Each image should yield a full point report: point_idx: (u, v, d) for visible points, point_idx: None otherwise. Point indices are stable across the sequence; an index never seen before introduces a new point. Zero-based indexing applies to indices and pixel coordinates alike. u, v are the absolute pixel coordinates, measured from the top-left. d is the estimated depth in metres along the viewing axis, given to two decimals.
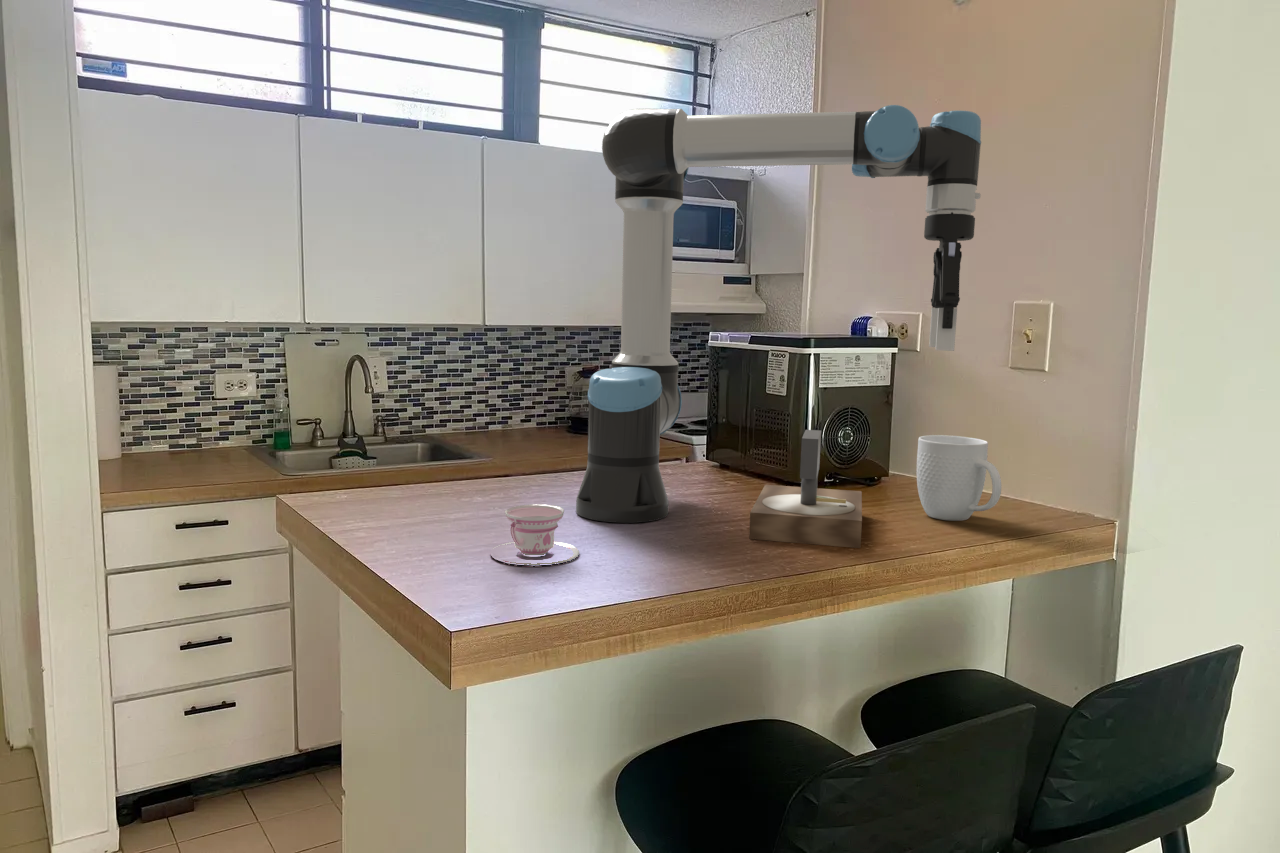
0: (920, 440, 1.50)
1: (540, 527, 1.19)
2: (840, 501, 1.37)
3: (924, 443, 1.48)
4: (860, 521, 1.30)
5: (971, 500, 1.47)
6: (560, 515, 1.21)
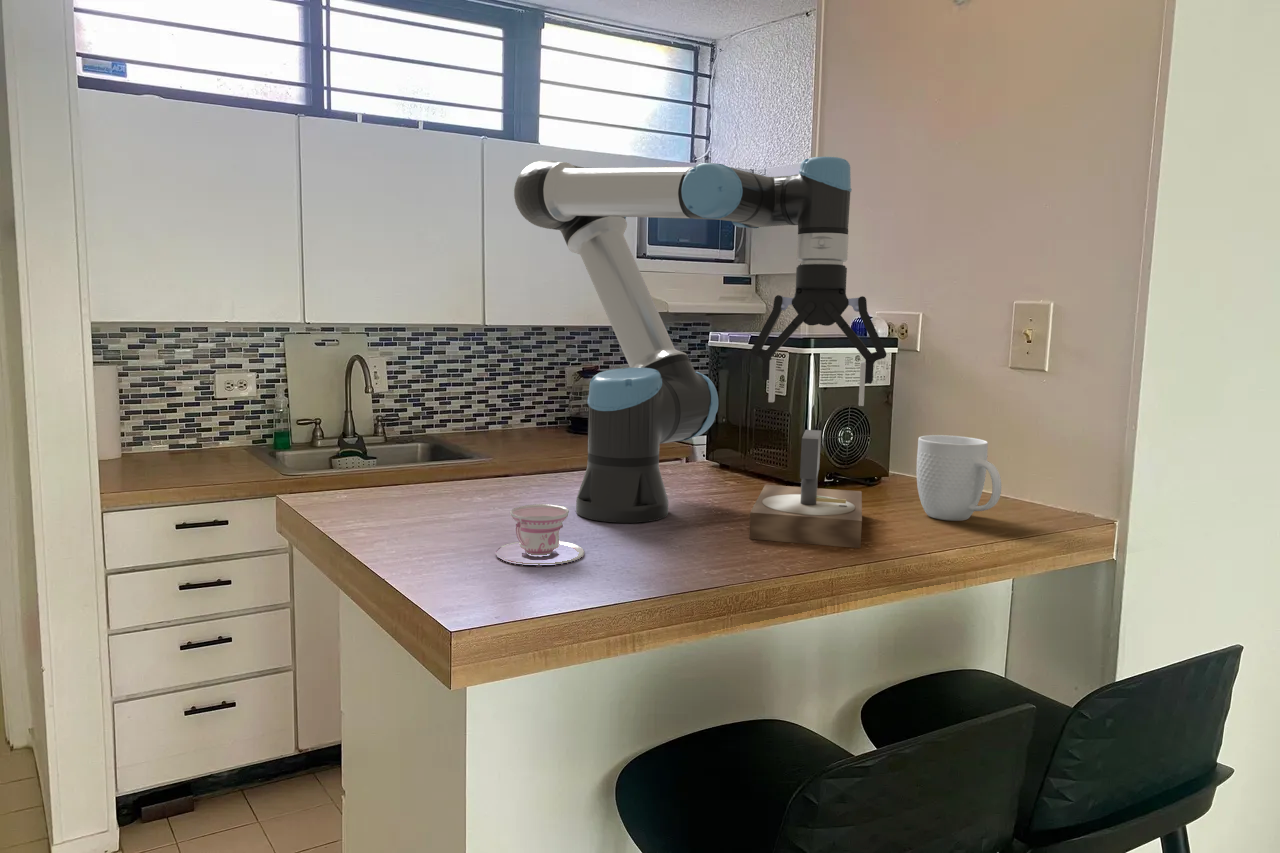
0: (920, 440, 1.50)
1: (545, 527, 1.19)
2: (840, 501, 1.37)
3: (924, 443, 1.48)
4: (860, 521, 1.30)
5: (971, 500, 1.47)
6: (565, 515, 1.21)
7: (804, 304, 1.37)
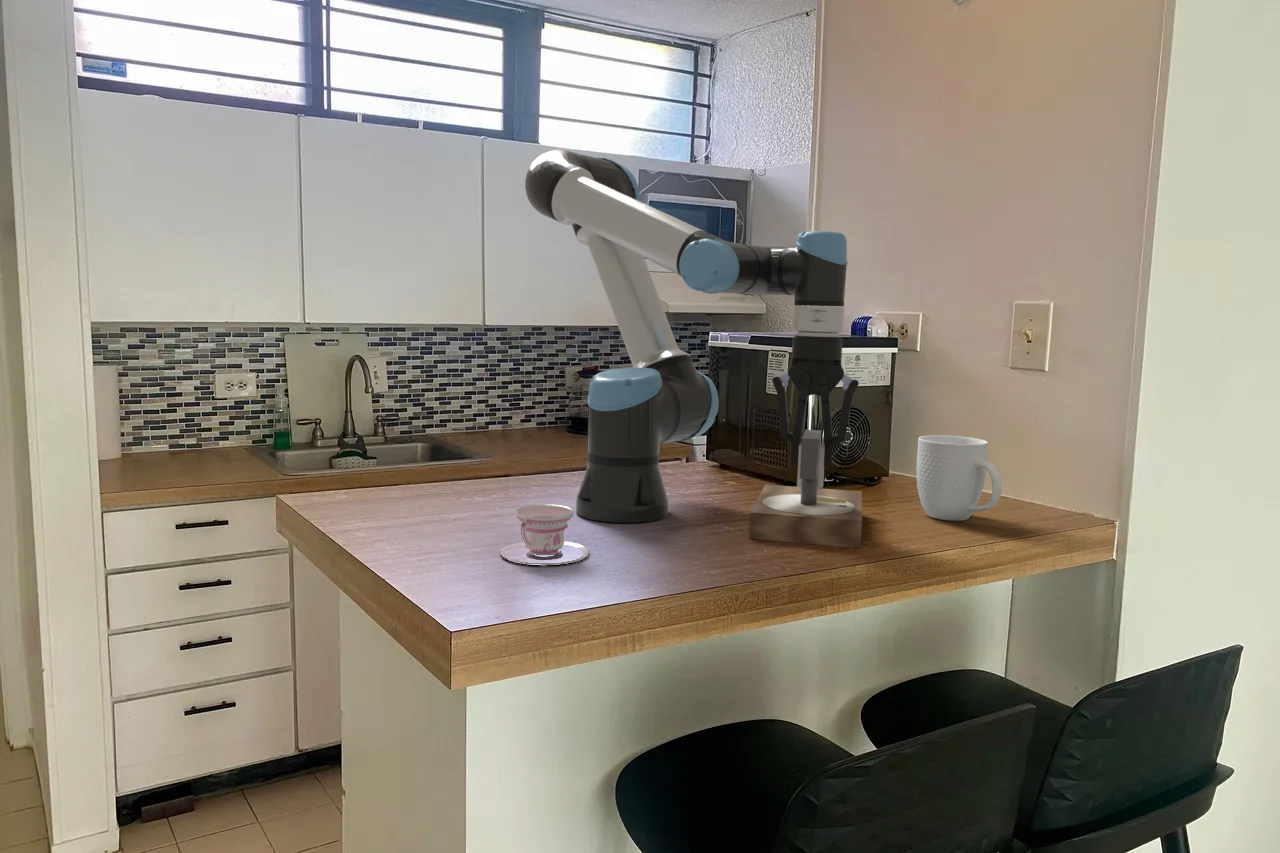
0: (920, 440, 1.50)
1: (550, 527, 1.19)
2: (840, 501, 1.37)
3: (924, 443, 1.48)
4: (860, 521, 1.30)
5: (971, 500, 1.47)
6: (570, 515, 1.21)
7: (801, 371, 1.39)
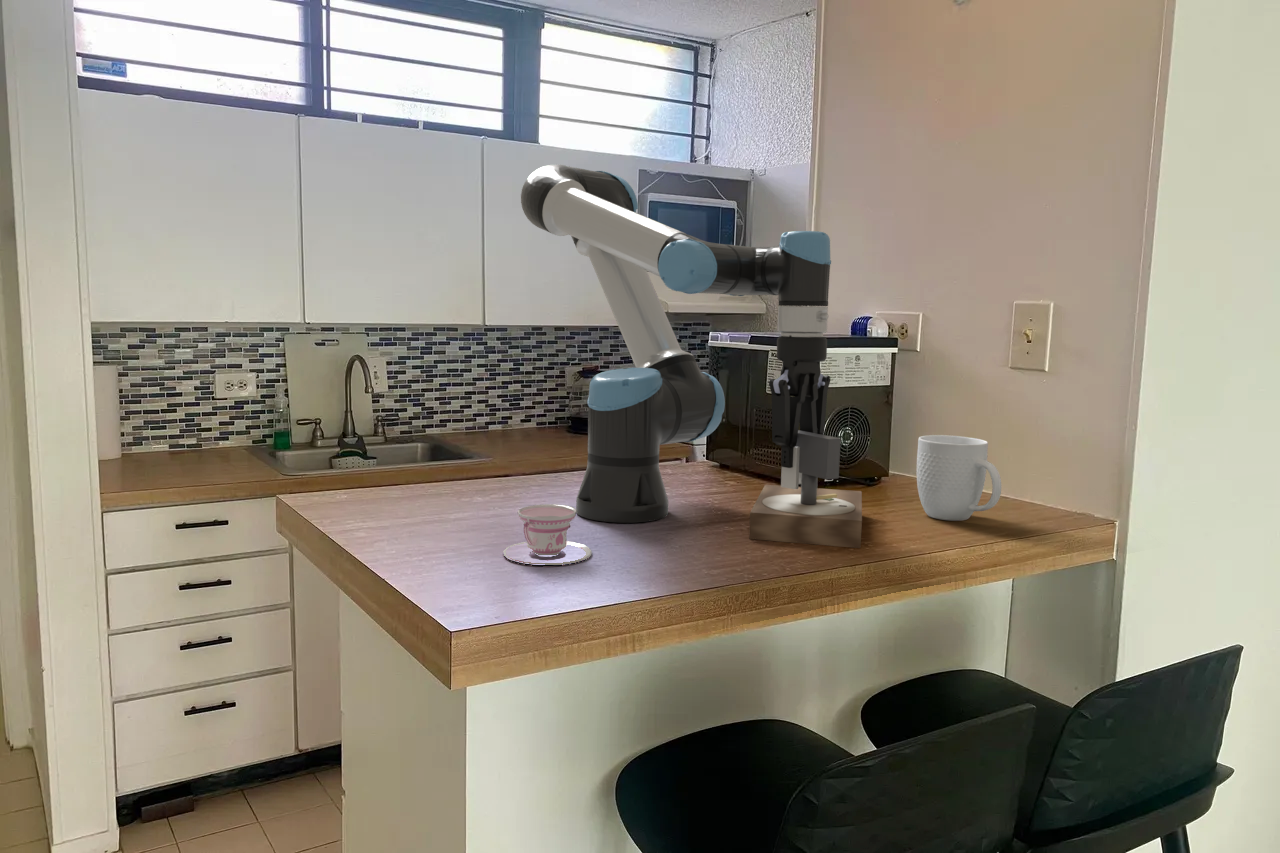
0: (920, 440, 1.50)
1: (553, 527, 1.20)
2: (833, 496, 1.41)
3: (924, 443, 1.48)
4: (860, 521, 1.30)
5: (971, 500, 1.47)
6: (573, 515, 1.21)
7: (798, 373, 1.36)
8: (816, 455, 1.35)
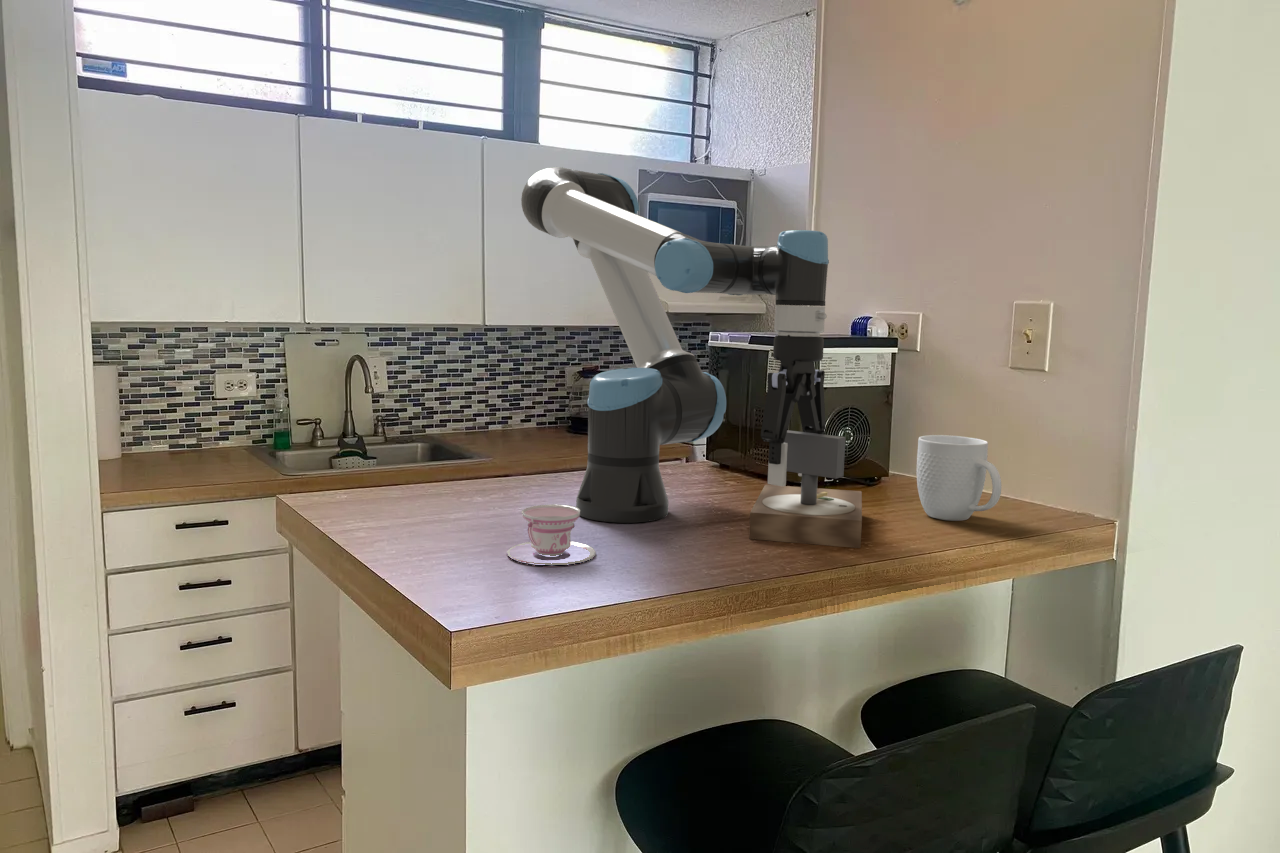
0: (920, 440, 1.50)
1: (557, 527, 1.19)
2: (825, 494, 1.42)
3: (924, 443, 1.48)
4: (860, 521, 1.30)
5: (971, 500, 1.47)
6: (577, 515, 1.21)
7: (796, 374, 1.36)
8: (823, 455, 1.35)
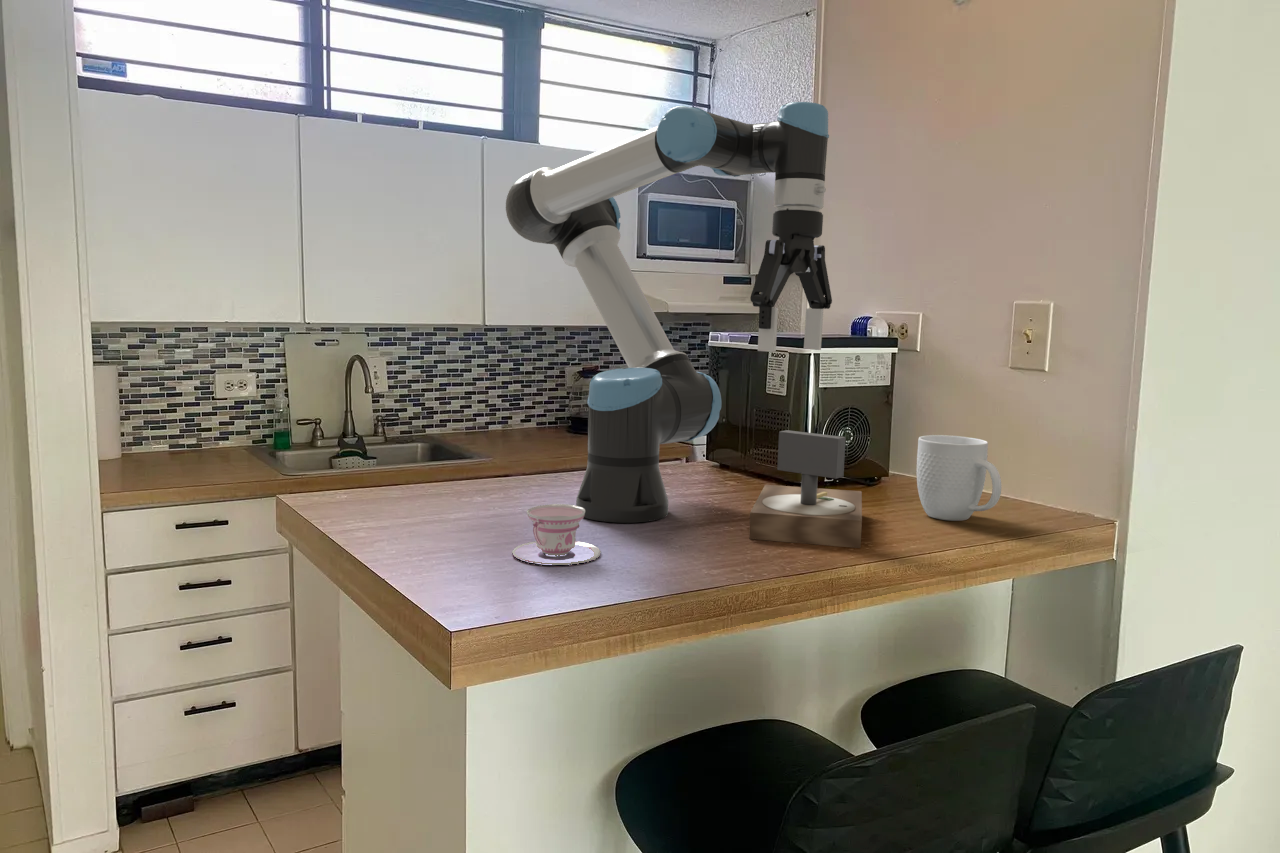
0: (920, 440, 1.50)
1: (562, 527, 1.20)
2: (824, 494, 1.42)
3: (924, 443, 1.48)
4: (860, 521, 1.30)
5: (971, 500, 1.47)
6: (582, 515, 1.21)
7: (794, 250, 1.36)
8: (823, 455, 1.35)
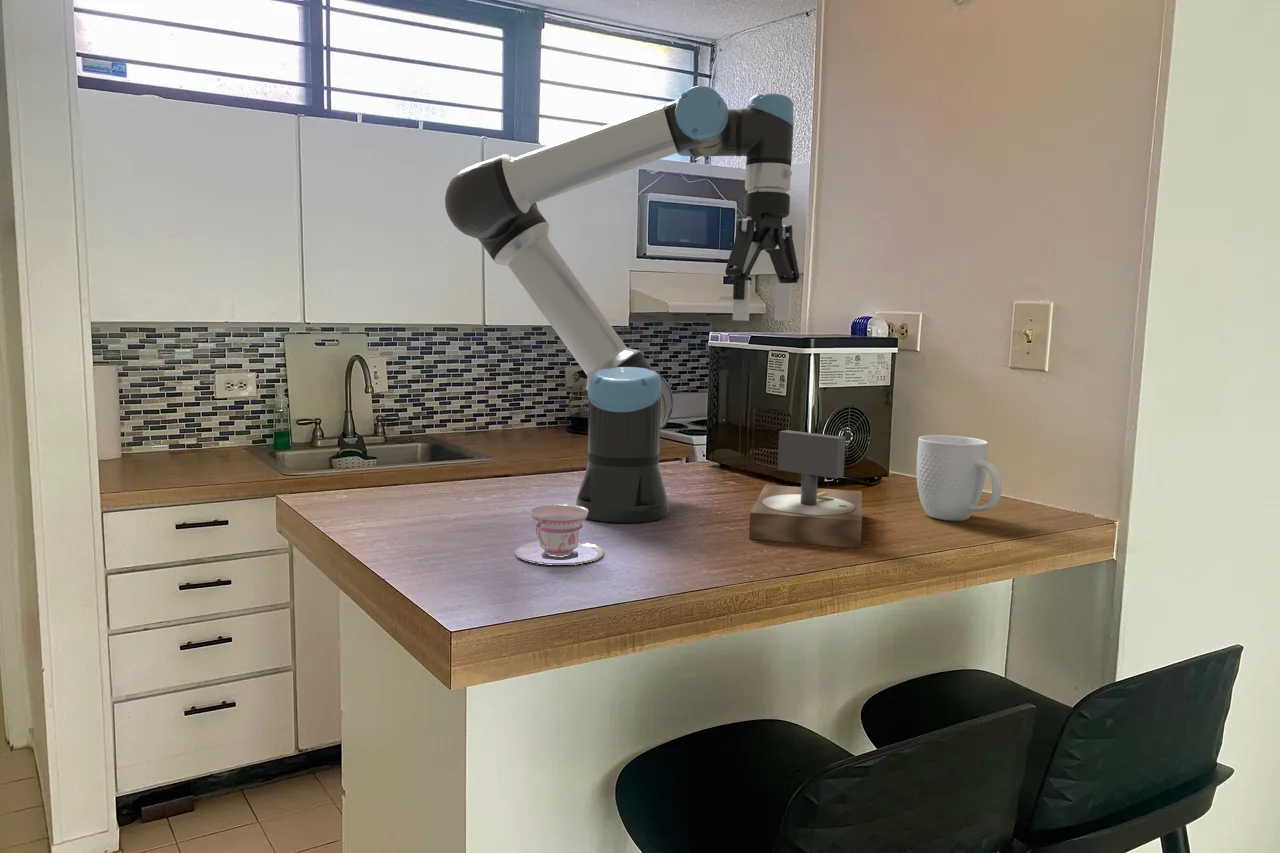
0: (920, 440, 1.50)
1: (565, 527, 1.20)
2: (824, 494, 1.42)
3: (924, 443, 1.48)
4: (860, 521, 1.30)
5: (971, 500, 1.47)
6: (585, 515, 1.21)
7: (764, 228, 1.50)
8: (823, 455, 1.35)
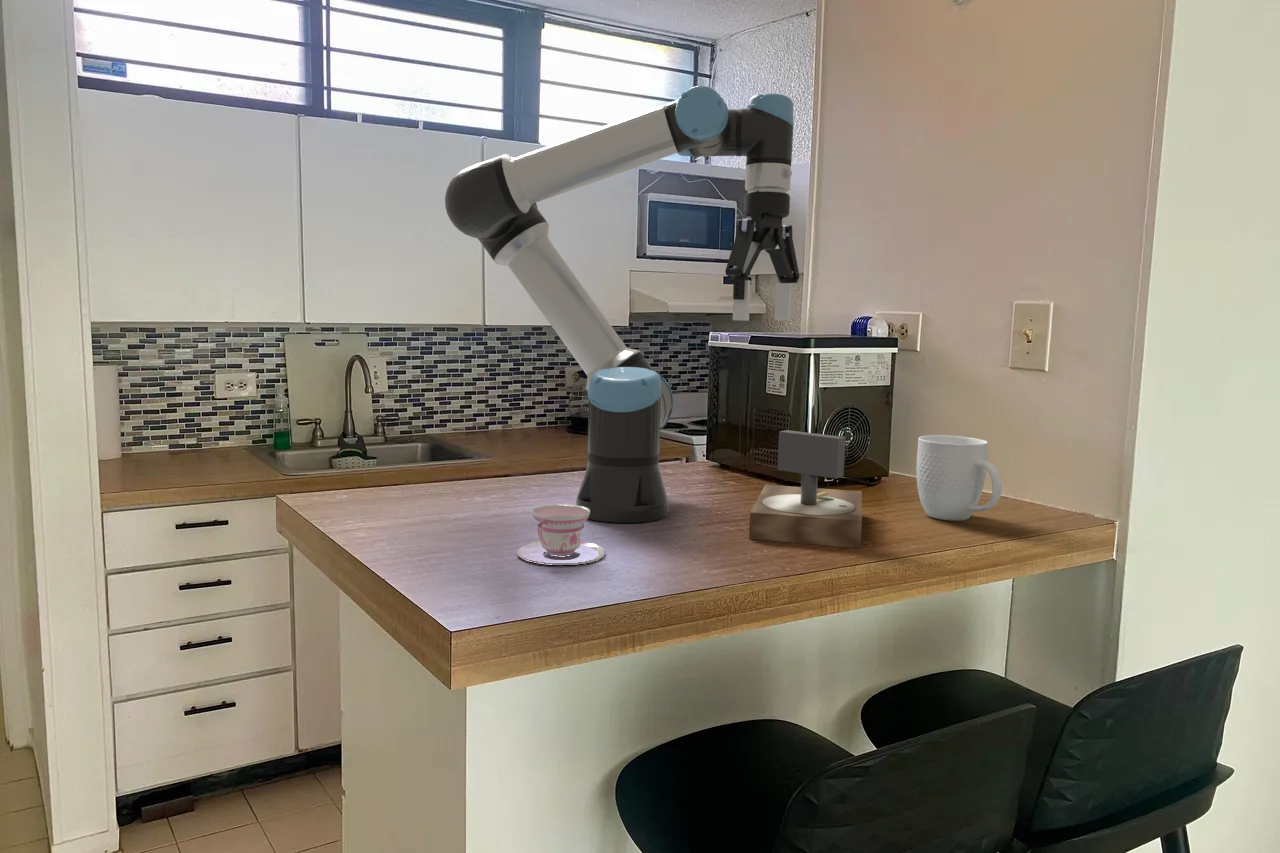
0: (920, 440, 1.50)
1: (567, 527, 1.20)
2: (824, 494, 1.42)
3: (924, 443, 1.48)
4: (860, 521, 1.30)
5: (971, 500, 1.47)
6: (587, 515, 1.21)
7: (764, 228, 1.50)
8: (823, 455, 1.35)
